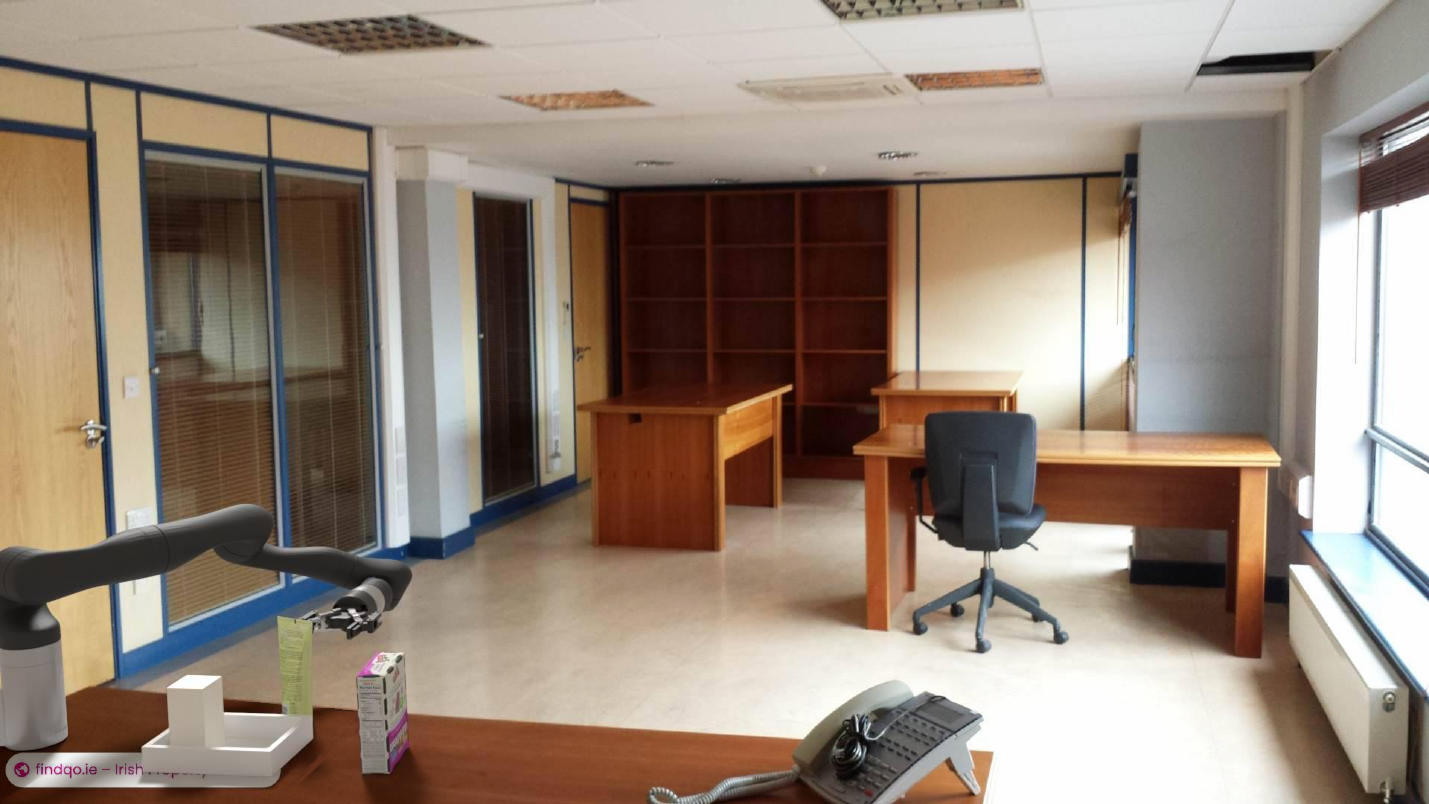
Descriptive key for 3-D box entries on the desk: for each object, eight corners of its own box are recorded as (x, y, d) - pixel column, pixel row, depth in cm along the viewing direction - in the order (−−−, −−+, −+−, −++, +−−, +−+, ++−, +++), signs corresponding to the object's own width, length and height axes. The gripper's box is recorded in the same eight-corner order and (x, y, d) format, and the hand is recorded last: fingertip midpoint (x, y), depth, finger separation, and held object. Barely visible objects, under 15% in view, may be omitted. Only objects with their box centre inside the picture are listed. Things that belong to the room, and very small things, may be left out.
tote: (143, 777, 185) (141, 747, 185) (194, 739, 200) (192, 711, 200) (271, 782, 184) (270, 751, 183) (313, 743, 198) (312, 715, 198)
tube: (316, 720, 209) (311, 612, 207) (317, 730, 204) (312, 620, 202) (282, 724, 207) (277, 616, 205) (282, 735, 202) (277, 624, 200)
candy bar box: (380, 746, 197) (376, 651, 195) (409, 746, 197) (406, 651, 195) (358, 775, 186) (354, 674, 184) (390, 775, 186) (386, 674, 184)
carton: (170, 760, 190) (166, 687, 188) (190, 745, 196) (186, 675, 194) (206, 761, 189) (202, 688, 188) (225, 746, 195) (221, 676, 194)
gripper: (395, 627, 231) (364, 654, 215) (325, 625, 233) (288, 653, 217) (393, 589, 230) (362, 614, 214) (323, 588, 232) (286, 613, 216)
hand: (325, 634), depth 215 cm, fingers open, 8 cm apart
